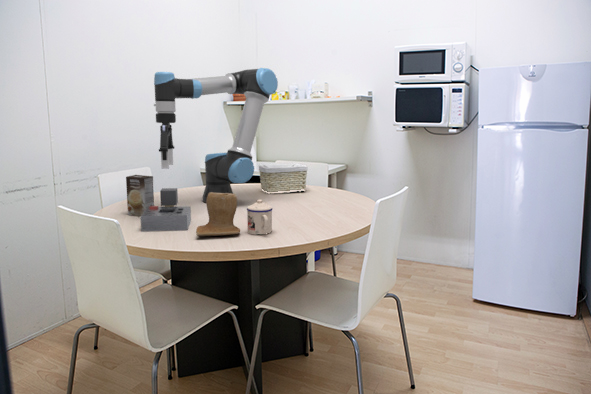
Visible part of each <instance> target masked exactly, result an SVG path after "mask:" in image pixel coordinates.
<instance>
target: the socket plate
mask: <svg viewBox="0 0 591 394" xmlns="http://www.w3.org/2000/svg"><path fill="white" fill-rule="evenodd" d="M191 209H192V207H191V205H190V206H188V205H187V206H186V205H185V206H184V205H183V206H175V207H165V206H159V205H154V206H150V207H148V208H147V209H146V210H145V212H144V213H143V214H142V215H141V216H140V227H141V232H160V231H161V232H162V231H163V232H166V231H188V230H189V227H190V224H191V220H192V210H191Z"/></svg>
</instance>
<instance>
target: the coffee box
mask: <svg viewBox="0 0 591 394" xmlns="http://www.w3.org/2000/svg"><path fill="white" fill-rule="evenodd" d="M125 180H126V181H125V182H126V183H125V184H126V202H127V203H126V204H127V215H128V216H134V217H141V215H142V214H143V213H144V212H145V210H146V209H147V208H148V207H150V206H155V197H154V195H155V194H154V192H155V191H154V176H153V175H141V174H132V175H129V176H125Z"/></svg>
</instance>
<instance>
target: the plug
mask: <svg viewBox="0 0 591 394" xmlns="http://www.w3.org/2000/svg"><path fill="white" fill-rule="evenodd" d="M159 194H160V195H159V196H160V207H176V206H178V203H179V200H178V198H179V196H178V195H179V194H178V188H174V187H172V188H171V187H168V188H165V187H164V188H161V189H160V191H159Z"/></svg>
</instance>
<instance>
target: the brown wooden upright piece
mask: <svg viewBox="0 0 591 394" xmlns="http://www.w3.org/2000/svg"><path fill="white" fill-rule="evenodd" d="M205 204H206V210H207V214H208V215H207V216H208V222H207V223H206V224H204V225H199V226H197V227H196V231H195V234H196V236H197V237H218V236H220V237H221V236H229V235H237V234H240V233H241V229H240V228H239V227H237V226H236V225H235V224H234V218H235V214H236V211H237V208H238V198H237V195H236V194H235V193H233V194H231V193H213V192H210V193H209V194H208V196H207V200H206V203H205Z"/></svg>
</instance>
